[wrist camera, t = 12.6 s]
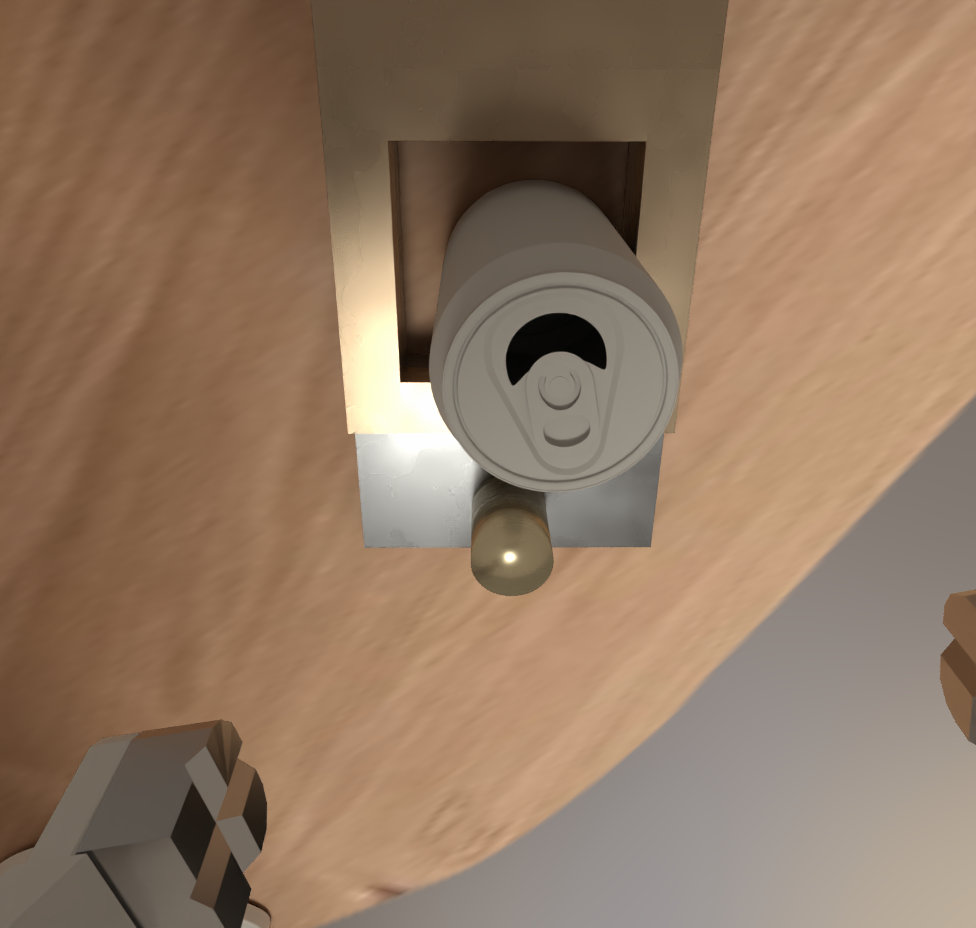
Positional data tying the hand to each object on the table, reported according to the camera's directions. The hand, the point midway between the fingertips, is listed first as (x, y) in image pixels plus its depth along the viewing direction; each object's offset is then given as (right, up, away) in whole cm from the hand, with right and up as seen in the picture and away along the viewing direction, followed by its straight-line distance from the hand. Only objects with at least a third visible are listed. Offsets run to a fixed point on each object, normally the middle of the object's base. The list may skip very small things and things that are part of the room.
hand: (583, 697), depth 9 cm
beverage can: (+1, +10, +21) cm, 23 cm away
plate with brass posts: (0, +10, +20) cm, 23 cm away
